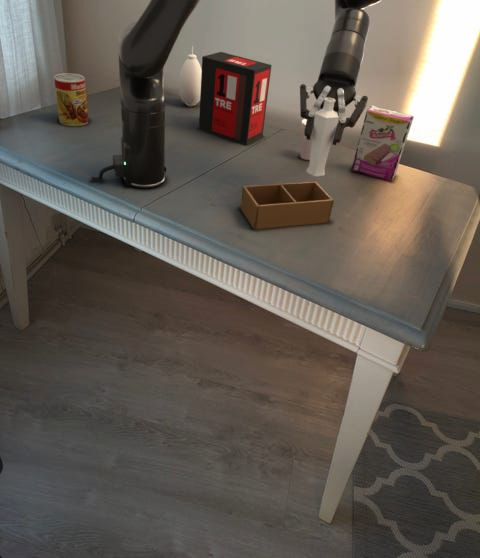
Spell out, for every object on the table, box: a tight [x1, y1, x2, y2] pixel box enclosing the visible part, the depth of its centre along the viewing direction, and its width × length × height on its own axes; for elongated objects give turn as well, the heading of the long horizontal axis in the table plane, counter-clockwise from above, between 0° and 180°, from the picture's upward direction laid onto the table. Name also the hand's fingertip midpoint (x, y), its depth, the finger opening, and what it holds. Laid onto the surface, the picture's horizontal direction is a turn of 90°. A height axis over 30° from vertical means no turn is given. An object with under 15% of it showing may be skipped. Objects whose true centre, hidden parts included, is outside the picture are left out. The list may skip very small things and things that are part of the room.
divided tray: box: [239, 181, 335, 230], centre depth 109 cm, size 18×9×6 cm, turn 109°
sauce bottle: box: [178, 45, 202, 107], centre depth 158 cm, size 8×8×18 cm
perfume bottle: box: [305, 98, 339, 177], centre depth 100 cm, size 5×4×15 cm
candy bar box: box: [351, 105, 414, 182], centre depth 129 cm, size 11×5×16 cm, turn 65°
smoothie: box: [299, 118, 313, 161], centre depth 134 cm, size 6×6×14 cm
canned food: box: [53, 72, 89, 127], centre depth 139 cm, size 8×8×12 cm
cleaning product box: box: [198, 51, 272, 146], centre depth 141 cm, size 16×9×20 cm, turn 58°
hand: (321, 140), depth 98 cm, fingers closed on perfume bottle, 4 cm apart
